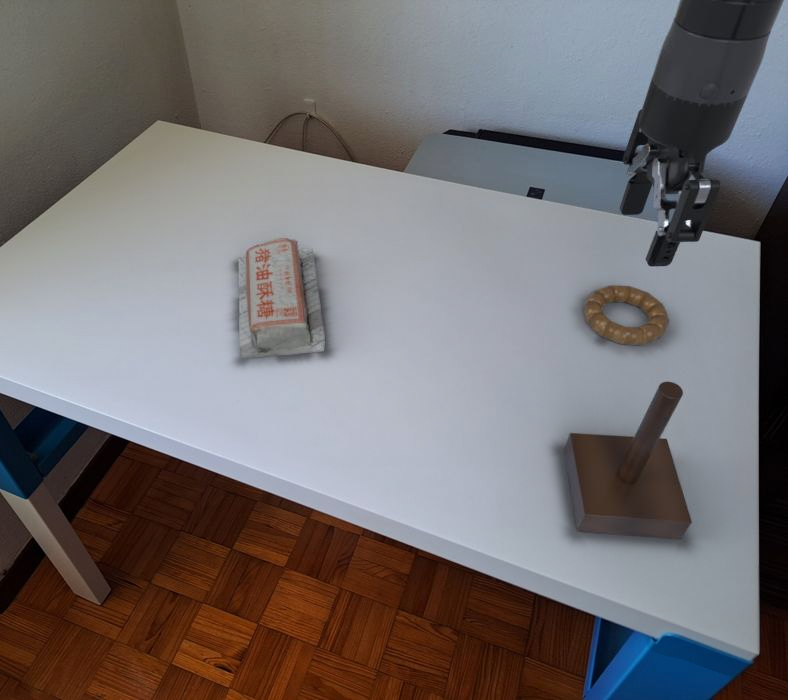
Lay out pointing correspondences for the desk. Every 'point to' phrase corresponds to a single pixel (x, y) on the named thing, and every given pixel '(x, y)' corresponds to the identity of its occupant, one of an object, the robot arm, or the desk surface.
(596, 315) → the segmented donut ring
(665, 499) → the peg stand
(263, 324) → the packaged product
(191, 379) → the desk surface
